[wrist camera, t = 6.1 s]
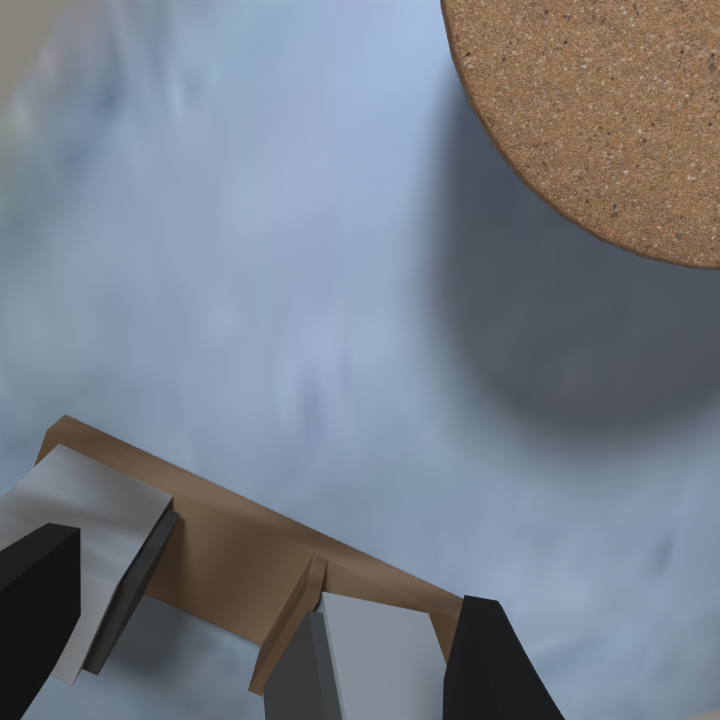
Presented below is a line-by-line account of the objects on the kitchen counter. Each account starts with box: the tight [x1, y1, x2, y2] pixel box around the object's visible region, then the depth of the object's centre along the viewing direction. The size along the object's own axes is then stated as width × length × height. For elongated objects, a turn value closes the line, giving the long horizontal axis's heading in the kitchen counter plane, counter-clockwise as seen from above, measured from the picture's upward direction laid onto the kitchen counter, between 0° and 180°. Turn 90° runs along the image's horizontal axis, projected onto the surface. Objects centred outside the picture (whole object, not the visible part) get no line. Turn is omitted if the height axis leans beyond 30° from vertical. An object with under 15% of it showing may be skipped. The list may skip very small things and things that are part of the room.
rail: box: [0, 415, 464, 696], centre depth 22 cm, size 16×4×6 cm, turn 64°
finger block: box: [263, 591, 447, 720], centre depth 21 cm, size 4×4×5 cm
